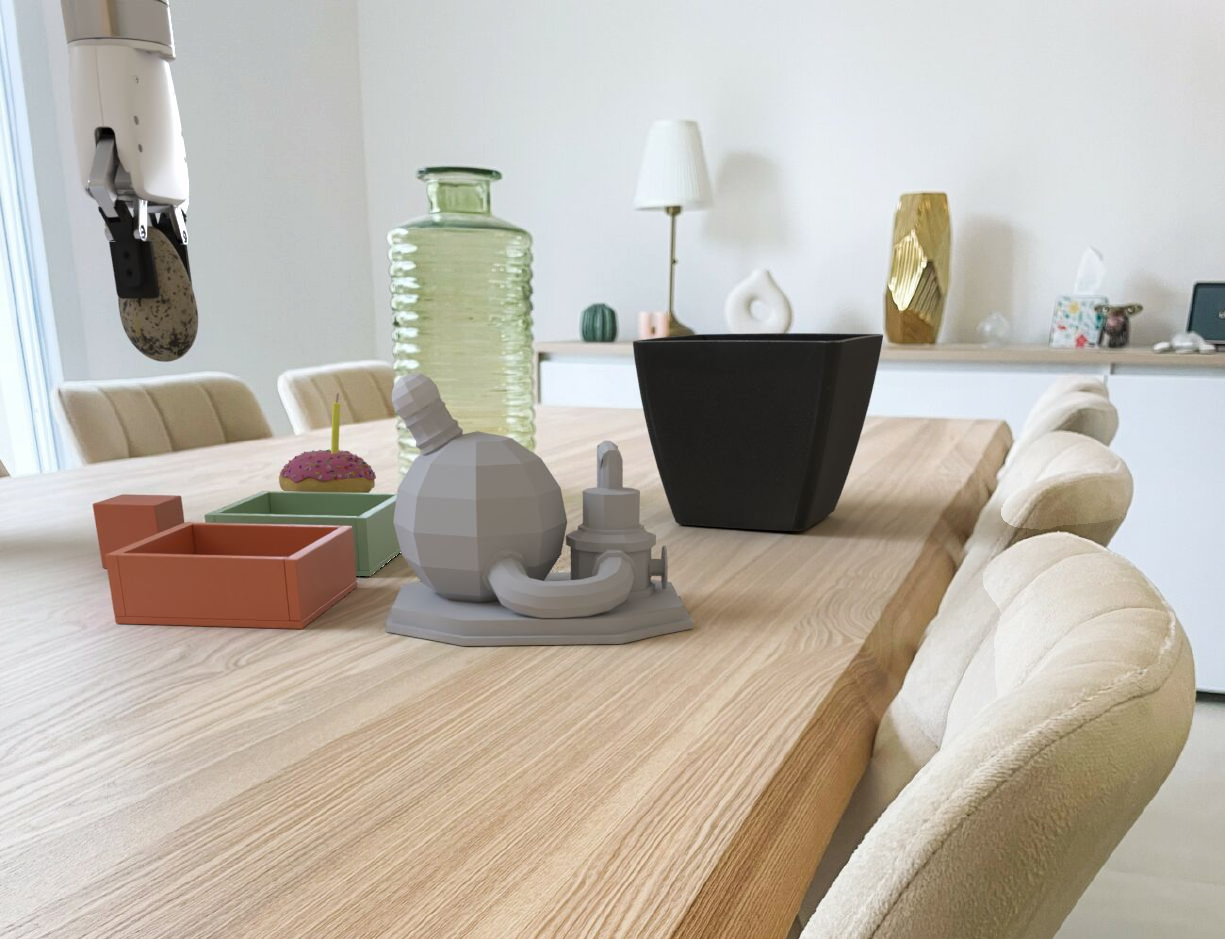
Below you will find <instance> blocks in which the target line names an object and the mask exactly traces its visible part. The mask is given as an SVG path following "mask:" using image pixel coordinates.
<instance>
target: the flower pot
mask: <svg viewBox="0 0 1225 939" xmlns="http://www.w3.org/2000/svg"><path fill="white" fill-rule="evenodd" d="M883 339H884V334H883V333H831V332H830V333H829V332H828V333H827V332H825V333H823V332H817V333H814V332H812V333H809V332H808V333H805V332H804V333H803V332H801V333H800V332H797V333H796V332H795V333H794V332H793V333H792V332H791V333H789V332H778V333H777V332H773V333H770V332H768V333H767V332H764V333H761V332H759V333H704V334H703V333H697V334H684V335H683V334H682V335H673V336H663V337H654V338H645V339H637V340H633V341H632V348H633V349H632V350H633V357H634V358H633V359H634V365H635V370H636V376H637V383H638V389H639V390H638V391H639V394H640V395H639V396H640V400H641V405H642V406H641V407H642V410H643V414H644V420H645V423H646V429H647V433H648V438H649V441H650V445H651V449H652V452H653V457H654V460H655V464H656V468H657V471H658V475H659V478H660V480H661V484H662V487H663V489H664V490H663V491H664V494H665V496H666V499H667V502H668V505H669V509H670V510H671V514H672V517H673V519H674V521H675V523H676V524H678V525H685V526H700V527H716V528H728V529H729V528H730V529H731V528H732V529H744V530H745V529H747V530H766V531H784V532H785V531H787V532H803V531H805V530H807V529H809V528H810V527H812V526H813V525H815V524H817V523H818V522H820V521H821V520H823V519H825V518H827V516H829V515H831V514H832V513H834V511H835V510H836V508H837V505H838V503H839V500H840V498H841V495H842V493H843V490H844V487H845V484H846V481H847V479H848V476H849V474H850V470H851V467H852V464H853V461H854V458H855V454H856V452H857V448H858V445H859V442H860V438H861V435H862V432H863V429H864V425H865V422H866V421H865V420H866V417H867V413H868V410H869V406H870V403H871V398H872V394H873V390H874V385H875V380H876V375H877V371H878V367H879V363H880V362H879V360H880V356H881V352H882V346H883Z"/></svg>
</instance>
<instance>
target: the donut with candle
mask: <svg viewBox="0 0 1225 939" xmlns="http://www.w3.org/2000/svg"><path fill="white" fill-rule="evenodd" d="M339 396H340V393H338V392H337V393H336V396H335V401H333V402H332V410H331V411H332V415H331V440H330V441H331V442H330V443H331V444H330V449H326V450H325V449H324V450H322V449H319V450H310V451H303V453H302V452H301V453H300V454H298V455H295V456H294V457H293V458H292V459H289V460H288V463H286V464H285V465H283V468H282V469H281V471H280V472H279V476H278V483H279V487H280V489H281V491H298V492H348V493H371V492H372V489H374V488H375V486H376V481H375V480H376V478H377V476H376V472H375V471H374V470H373V469H372V466H371V465H370V464H368V463H367V461H365V460H364V459H363V458H362V457H360V456H358V455H357V454H356V453H354V454H353V453H351V451H349V450H343V449H342V450H341V449H340V448H339V446H340V422H341V421H340V419H341V403H340V402H339Z"/></svg>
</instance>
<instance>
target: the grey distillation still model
mask: <svg viewBox="0 0 1225 939" xmlns="http://www.w3.org/2000/svg"><path fill="white" fill-rule="evenodd" d="M391 404H392V406H393V409H394V412H395V413H396V414H397V415H398V416H399V417H400V419H402V420H403V422H404V425H405V428H406V429H408V431H409V432H410V434H411V435H412V437H413V438H414V440H415V447H416V448H417V449H419V450H420V454H419V455H418V456H417V457H415V458H414V459H413V461H412V463H411V465H410V467H409V468H408V470H407V471H406V473H405V475H404V477H403V478H402V480H401V482H400V483H399V485H398V487H397V491H396V492H397V498H396V506H395V513H394V521H393V523H394V526H395V530H396V534H397V538H398V542H399V546H400V550H401V556H402V557H403V559H404V560H405V562H406V563H407V564H408V566H409V567H410V568H411V570H412V572H414V574H415V575H416V577H417V579H419V580H418V581H412V582H411V581H410V582H405V583H402V585H401V586H400V588H399V591H398V593H397V596H396V598H395V600H394V602H393V604H392V606H391V608H390V609H389V611H388V614H387V618H386V621H385V632H386V633H390V634H396V635H403V636H407V637H414V638H419V639H425V640H429V641H435V642H441V643H446V644H451V645H456V646H461V647H462V646H463V647H480V646H481V647H482V646H483V647H487V646H561V645H562V646H563V645H567V646H569V645H623V644H627V643H630V642H631V643H632V642H635V641H640V640H644V639H649V638H652V637H657V636H661V635H667V634H672V633H677V632H682V631H687V630H692V629H693V628H694V621H693V618H691V616H690V614H689V613H688V611H687V609H686V608H685V604H684V601H683V599H682V597H681V595H678V593H677V591H676V589H675V587H674V584H673V583H672V582H671V581H668V573H669V572H668V568H669V567H668V566H669V562H668V561H669V560H668V549H667V545H666V544H664V545H662V546H661V553H660V554H661V555H660V558H652V548H653V547H654V546H656V544H657V534H655V533H653V532H650V531H648V530H646V529H645V525H643V524H642V523H640V517H641V516H640V514H641V512H640V511H641V510H640V504H641V503H640V502H641V490H639V489H637V488H634V487H626V486H624V485H623V484H624V483H623V482H624V481H623V480H624V476H623V475H624V467H623V463H624V460H623V457H622V454H621V451H620V449H619V446H618V445H617V444H616V443H614V442H613V441H612V440H603V441H601V443H599V444H598V445H597V446H596V486H595V487H588V488H587V487H586V488H585V489H583V490H582V523H580V524H578V525H577V529H576V530H573V531H571V532H569V533H567V534H566V532H567V526H568V517H567V514H566V508H565V503H564V499H563V493H562V488H561V486H560V485H559V483H558V482H557V479H555V477H554V475H553V474H552V473H551V471H550V469H549V467H547V465H546V463H545V462H544V461H543V459H542V457H540V456H538V455H537V454H536V453H534V452H533V451H532V450H530V449H529V448H527V447H525V446H524V445H523V444H522V443H520V442H518V441H517V440H515V439H514V438H512V437H508V436H505V435H501V434H496V433H491V432H490V433H489V432H484V431H478V430H477V431H472V432H467V433H463V432H464V429H463V428H462V427H460V426H459V422H458V420H457V419H455V418H453V417H452V415H451V413H450V411H449V410H448V408H447V407H446V403H445V402H444V401H443V400H442V398H441V393H440V390H439V388H438V386H437V384H436V383H435V382H434V381H433V379H432V378H431V377H429V376H427V375H425V374H422V373H419V372H410V373H407V374H404V375H402V376H401V377H400V378H399V379H398V380H397V381H396V382H395V383H394V386H393V388H392V390H391ZM623 486H624V487H623ZM564 541H565V545H566V546H567V547H569V548H570V571H569V572H568V571H567V572H563V571H561V572H559V571H558V572H551V571H552V569H553V568H554V567H555V564H556V563H557V562H558V560H559V558H560V557H561V555H562V552H563V547H564ZM652 577H660V580H658V579H652Z"/></svg>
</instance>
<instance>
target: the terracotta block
mask: <svg viewBox="0 0 1225 939" xmlns="http://www.w3.org/2000/svg"><path fill="white" fill-rule="evenodd" d="M182 500H183V498H182V495H176V494H175V495H174V494H173V495H172V494H171V495H169V494H168V495H167V494H128V493H127V494H125V493H122V494H119V495H115V496H113V497H109V498H107V499H104V500H103V499H102V500H100V501H97V502H95V503H92V509H93V517H94V524H95V528H96V536H97V542H98V547H99V554H100V560H101V567H102V569H107V565H106V558H105V555H106V554H109V553H111V552H114V551H116V550H119V549H121V548H123V547H126V546H128V545H131V544H133V543H136V542H138V541H141V540H143V539H146V538H148V537H150V536H153V535H155V534H158V533H160V532H163V531H165V530H168V529H170V528H173V527H175V526H178V525H180V524H182V523H185V522H186V521H185V515H184V507H183V501H182Z"/></svg>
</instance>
